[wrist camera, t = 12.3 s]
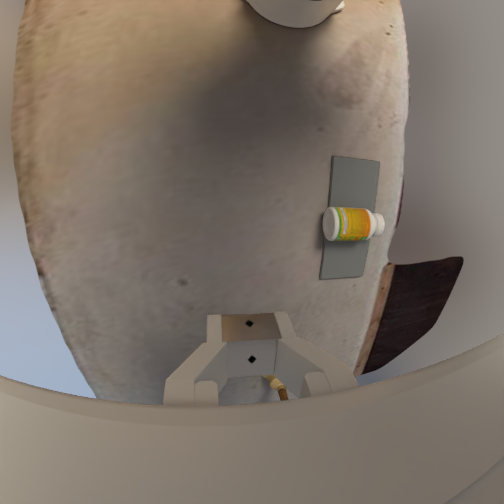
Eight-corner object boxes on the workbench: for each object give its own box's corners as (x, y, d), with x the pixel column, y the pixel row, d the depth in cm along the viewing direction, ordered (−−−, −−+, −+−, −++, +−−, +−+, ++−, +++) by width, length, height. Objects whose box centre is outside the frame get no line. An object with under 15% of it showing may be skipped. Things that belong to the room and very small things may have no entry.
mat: (332, 155, 42) (334, 156, 41) (377, 161, 43) (379, 161, 42) (319, 277, 50) (320, 279, 50) (360, 274, 51) (362, 276, 51)
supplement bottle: (334, 243, 40) (386, 242, 42) (335, 207, 39) (387, 209, 41) (321, 238, 46) (369, 238, 47) (322, 206, 45) (370, 208, 46)
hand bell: (257, 379, 60) (268, 436, 45) (258, 355, 56) (271, 415, 42) (291, 376, 61) (308, 429, 46) (296, 352, 57) (316, 408, 43)
